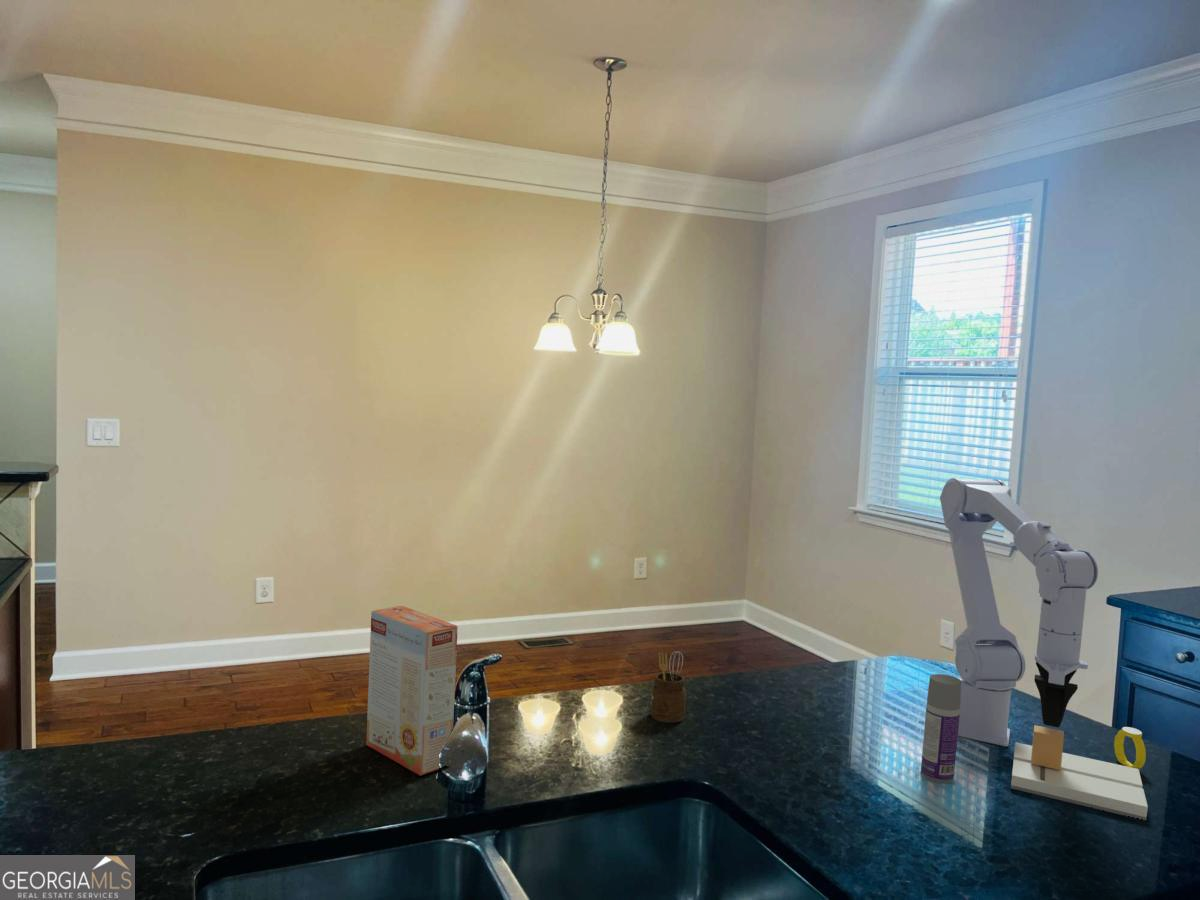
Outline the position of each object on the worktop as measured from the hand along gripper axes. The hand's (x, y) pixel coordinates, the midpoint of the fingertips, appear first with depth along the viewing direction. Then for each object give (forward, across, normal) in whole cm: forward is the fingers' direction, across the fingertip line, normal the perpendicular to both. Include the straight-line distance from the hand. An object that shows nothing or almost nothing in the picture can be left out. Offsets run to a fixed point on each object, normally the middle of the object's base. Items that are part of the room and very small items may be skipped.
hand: (1051, 717), depth 131 cm
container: (+10, -10, +14) cm, 20 cm away
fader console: (+9, -1, -4) cm, 10 cm away
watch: (+10, +13, -12) cm, 20 cm away
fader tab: (+9, -1, 0) cm, 9 cm away
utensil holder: (+10, -13, +57) cm, 60 cm away
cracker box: (+10, -49, +83) cm, 97 cm away
